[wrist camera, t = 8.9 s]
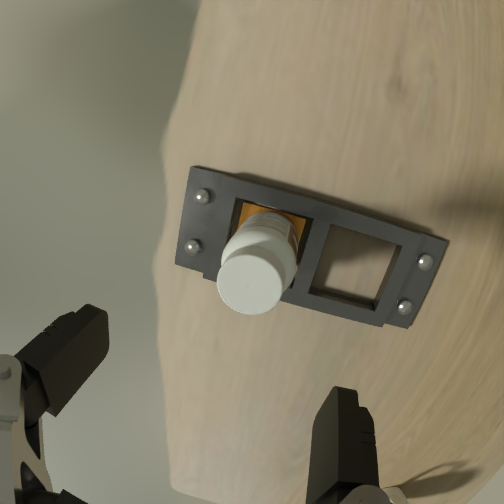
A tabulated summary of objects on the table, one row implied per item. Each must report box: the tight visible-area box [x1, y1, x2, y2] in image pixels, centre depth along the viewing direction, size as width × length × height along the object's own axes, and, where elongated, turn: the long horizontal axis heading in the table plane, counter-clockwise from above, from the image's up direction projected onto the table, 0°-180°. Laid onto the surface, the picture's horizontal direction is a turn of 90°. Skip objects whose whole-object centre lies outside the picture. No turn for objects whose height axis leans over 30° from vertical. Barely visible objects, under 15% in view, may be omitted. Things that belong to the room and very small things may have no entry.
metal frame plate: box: [175, 166, 447, 329], centre depth 22 cm, size 8×20×1 cm, turn 77°
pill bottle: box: [217, 211, 298, 315], centre depth 19 cm, size 4×4×8 cm
